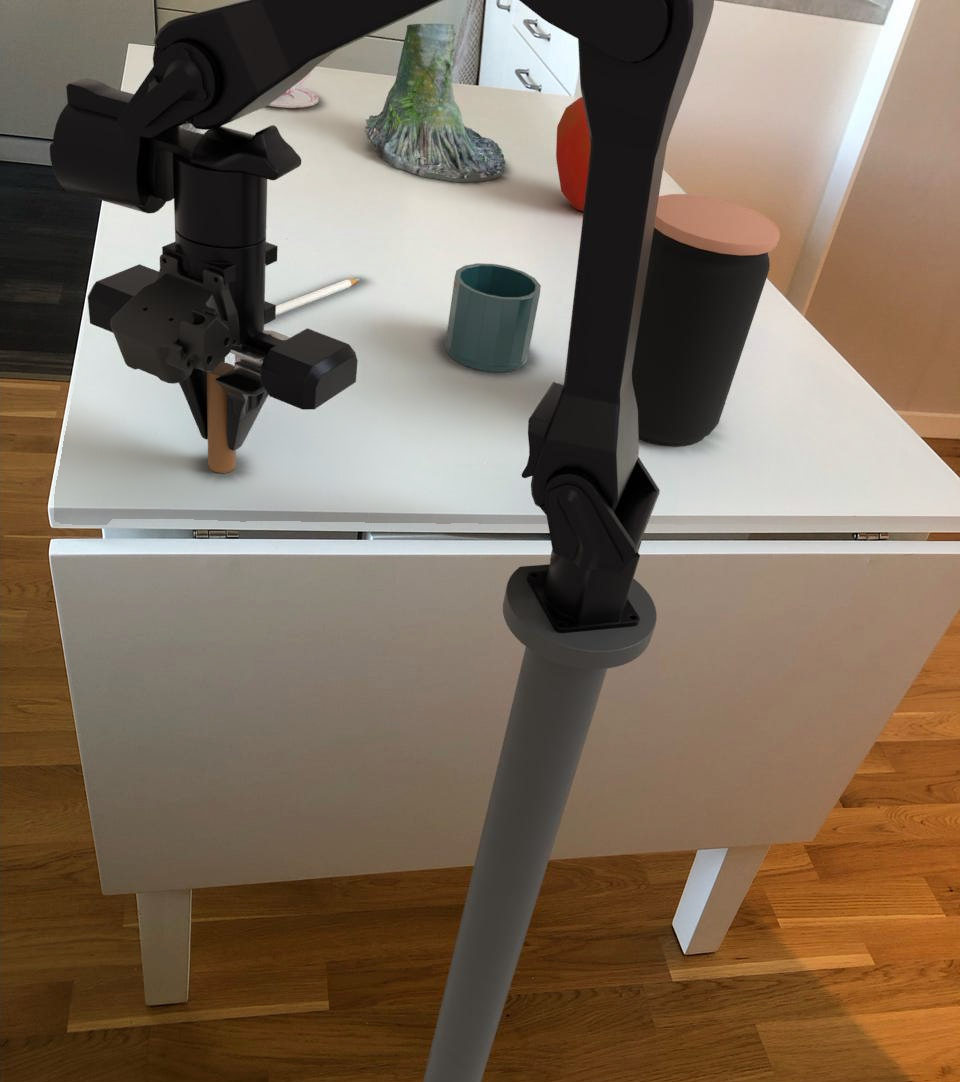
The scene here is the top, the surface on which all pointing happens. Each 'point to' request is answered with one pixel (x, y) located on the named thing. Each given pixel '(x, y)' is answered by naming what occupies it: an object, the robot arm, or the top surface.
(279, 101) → the teacup
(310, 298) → the pencil
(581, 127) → the apple
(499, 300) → the teal cup
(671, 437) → the coffee jar
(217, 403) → the tan wooden dowel
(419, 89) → the tree stump
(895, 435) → the top surface
